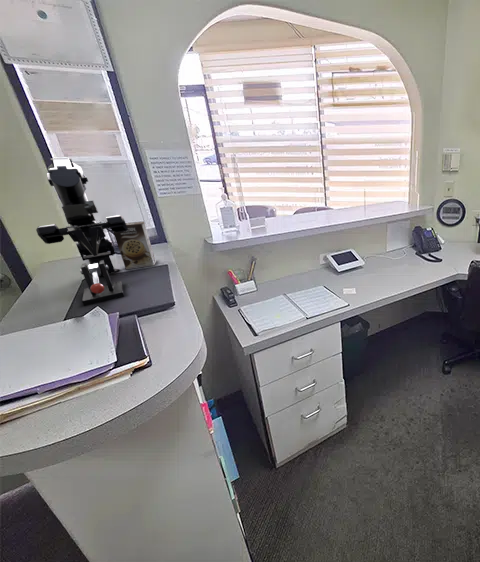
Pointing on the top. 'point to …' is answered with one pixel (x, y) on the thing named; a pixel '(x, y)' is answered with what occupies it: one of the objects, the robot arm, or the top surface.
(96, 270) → the lever
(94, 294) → the black lever stand
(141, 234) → the cookie box
